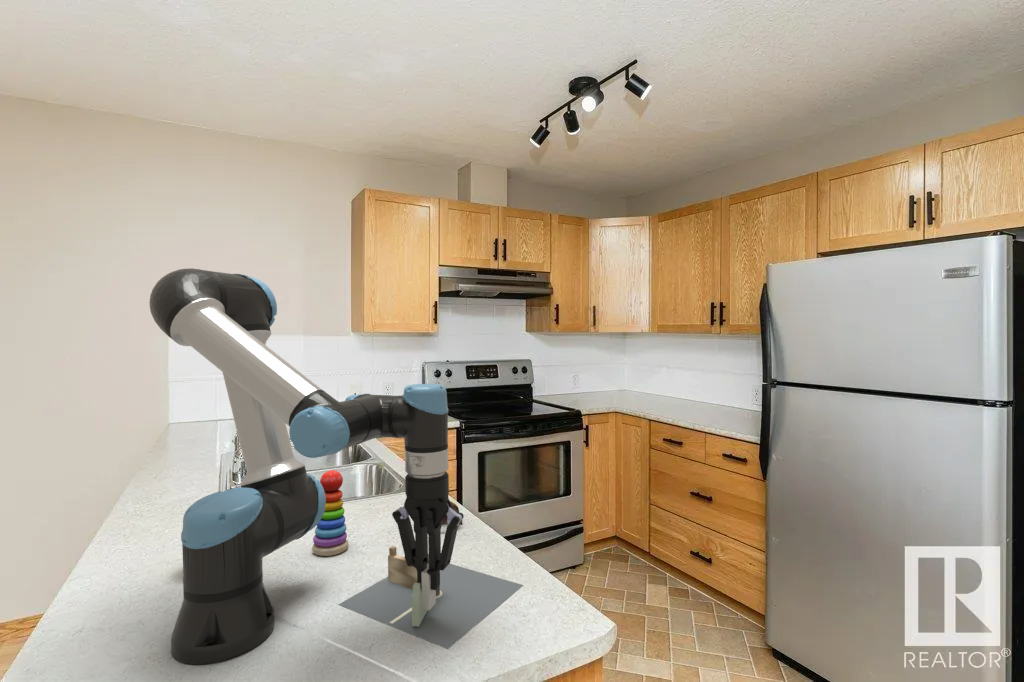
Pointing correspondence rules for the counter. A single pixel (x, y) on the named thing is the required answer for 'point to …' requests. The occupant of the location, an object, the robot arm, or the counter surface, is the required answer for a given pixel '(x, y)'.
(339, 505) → the stacking toy
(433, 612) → the board
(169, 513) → the counter surface
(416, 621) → the folding panel
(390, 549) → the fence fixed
